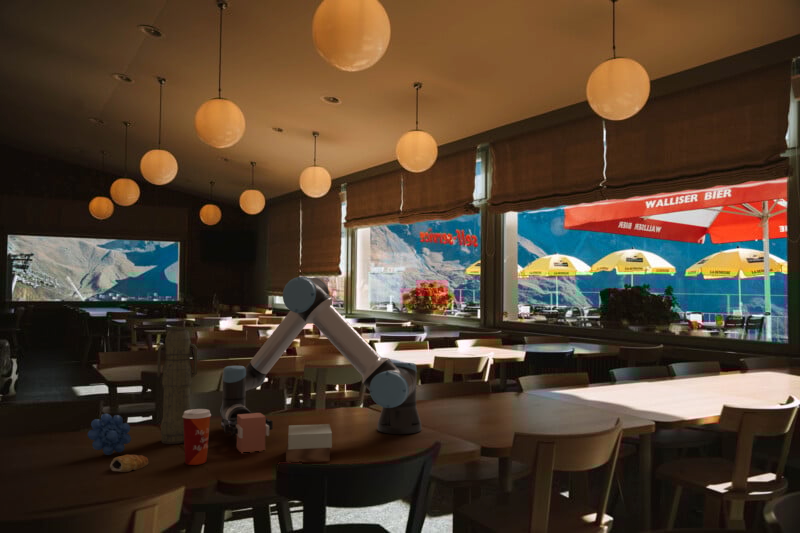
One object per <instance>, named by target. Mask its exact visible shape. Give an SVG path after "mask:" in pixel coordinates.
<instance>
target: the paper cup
mask: <svg viewBox="0 0 800 533" xmlns="http://www.w3.org/2000/svg"><path fill="white" fill-rule="evenodd" d="M211 416H212V413H211V411H210V409H206V408H196V409H195V408H193V409H190V410H187V411H184V415H183V416H182V417H183V422H184V443H183V445H184V446H183V447H184V462H185V465H189V466H196V465H197V466H198V465H202V464H206V463H205V462H207V458H208V448H209V434H210V422H211Z"/></svg>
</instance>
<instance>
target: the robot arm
mask: <svg viewBox="0 0 800 533" xmlns="http://www.w3.org/2000/svg"><path fill="white" fill-rule="evenodd" d="M282 301H283V304H284V305H285V307H286V308H287V309H288V310H289V311H288V313H287V314H286V315H285V317H283V319H282V320H281V322H280V323H279V324H278V325H277V327H276V328H275V330H274V331H273V332H272V334H270V336H269V337H268V339H267V340H266V341H265V342H264V343H263V345H262V346H261V347H260V348H259V350H258V351H257V352H256V354H255V355H254V356H253V357H252V359H251V360H250V361H249V363H248V364H247V365H246V366H243V365H228V366H225V367H224V368H223V372H222V377H221V378H222V404H221V406H220V410H219V411H220V415H221V418H222V419H221V421H220V422H221V425H220V427H221V428H222V429H223V432H224V434H226V435H227V434H231V437H235V436H236V437H237V436H238V437H239V438H243V428H242V427H240V426H239V425H238V424H237V415H238V414H250V413H252V412H251V411H250V410H249V409H248V408H247V407H246V391H249V390H250V391H251V390H252V389H255V388H258V387H260V386H261V385H262V384H264V382H265V380H266V376H267V374H268V373H269V372H270V371H271V370H272V368H273V367H274V365H275V364H276V363H277V362H278V360H279V359H280V358H281V357H282V355H283V354H284V353H285V352H286V350H287V349H288V348H289V347H290V346H291V344H292V343H293V341H294V340H295V339H297V337H298V335H299V334H300V333H301V332H302V330H303V329H304V328H305V327H306V326H307V324H313V325H314V326H315V327H316V328H317V330H319V331H320V333H322V334H323V335H324V337H325V338H326V339H327V340H328V341H329V342H330V343H331V344H332V345H333V347H335V348H336V350H338V352H340V354H341V355H342V356H343V357H344V358H345V360H347V361H348V363H350V364H351V366H352V367H353V368H354V369H355V370H356V371H357V372H358V373H359V374H360V375H361V377H362V381H361V382H362V384H363V385H364V386H365V387H366V388H367V390H368V391H369V394H370V397H371V399H372V400H373V402H374V403H376V405H378V406H380V407H381V408H382V409H381V412H380V415H379V417H378V421H377V431H378V432H380V433H384V434H390V435H391V434H392V435H408V434H409V435H411V434H417V433H419V432H421V431H422V421H421V418H420V414H419V411H418V408H417V380H418V379H417V374H418V371H417V365H416V364H415V363H413V362H394V361H392V360H391V359H390V358H389V357H382V356H380V354H379V353H378V352H377V351H376V350H375V349H374V347H372V346H371V345H370V344H369V343H368V342H367V341H366V339H364V338H363V336H362V335H361V334H360V333H359V332H358V331H357V330H356V329H355V328H354V327H353V326H352V325H351V324H350V323H349V322H348V321H347V320H346V319H345V317H344V316H342V314H341V313H340V312H339V311H338V310H337V309H336V308H335V307H334V306H333V298H332V297H331V296H330V291H329V288H328V286H327V283H325V281H323V280H322V279H320V278H317V277H307V276H297V277H294V278H292V279H290V280H289V281H288V282H287V283H286V284H285V286H284V288H283V290H282ZM273 423H274V422H273V420H272V419H270V418H267V417H266V427H265V437H266V436H267V437H269V436H270V431H271V430H273V427H274V426H273Z"/></svg>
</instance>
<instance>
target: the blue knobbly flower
mask: <svg viewBox="0 0 800 533" xmlns="http://www.w3.org/2000/svg"><path fill="white" fill-rule="evenodd" d="M90 426H91V428H92V429H90V430H88V432H87V437H88V439H89V440H90V441H92V444H91V445H92V448H93V449H94V450H96V451H101V450H102V452H103V454H104V455H106V456H111V455H112V454H113V453H114V451H115V452H116V453H122V452H124V450H125V445H128V444H129V443H131V440H132V437H131V435H130V434H129V433H130V431H131V426H130V424H129V423H127V422H124V419H123V417H122V416H121V415H119V414H115V415H113V416H112V415H111V414H109V413H106V412H105V413H103V414H101V416H100V419H99V418H94V419H93V420H91V423H90Z"/></svg>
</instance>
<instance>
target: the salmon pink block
mask: <svg viewBox="0 0 800 533" xmlns="http://www.w3.org/2000/svg"><path fill="white" fill-rule="evenodd" d="M266 418H267V417H266V415H264V414H263V413H261V412H251V413H250V414H238V415H237V424H238V425H239V426H240V427H242V428H243V438H239V437H238V436H237V435H236V449H237V448H238V449H239V450H238V449H237V450H238V452H241V453H240V454H244V453H243V452H250V451H259V452H262V451H261V450H265V451H266V435H265V427H266ZM250 453H251V452H250Z"/></svg>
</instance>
